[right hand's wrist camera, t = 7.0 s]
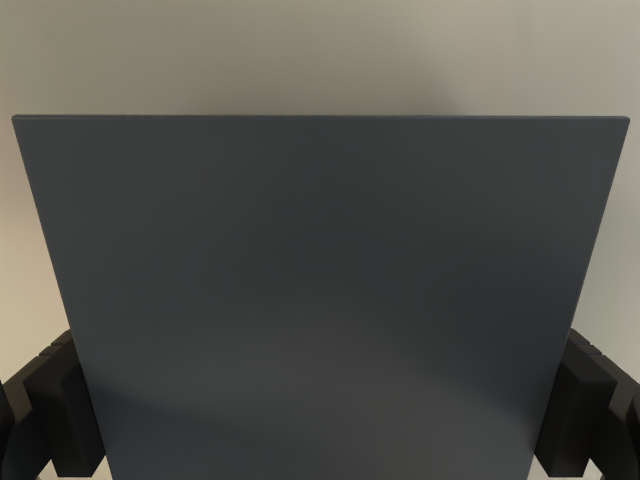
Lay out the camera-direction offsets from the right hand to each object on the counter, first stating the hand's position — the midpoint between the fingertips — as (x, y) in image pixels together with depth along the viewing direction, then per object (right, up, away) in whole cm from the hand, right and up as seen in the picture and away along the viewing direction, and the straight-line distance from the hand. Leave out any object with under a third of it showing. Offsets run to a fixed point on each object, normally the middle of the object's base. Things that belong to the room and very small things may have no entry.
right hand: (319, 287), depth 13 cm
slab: (0, -22, +9) cm, 24 cm away
